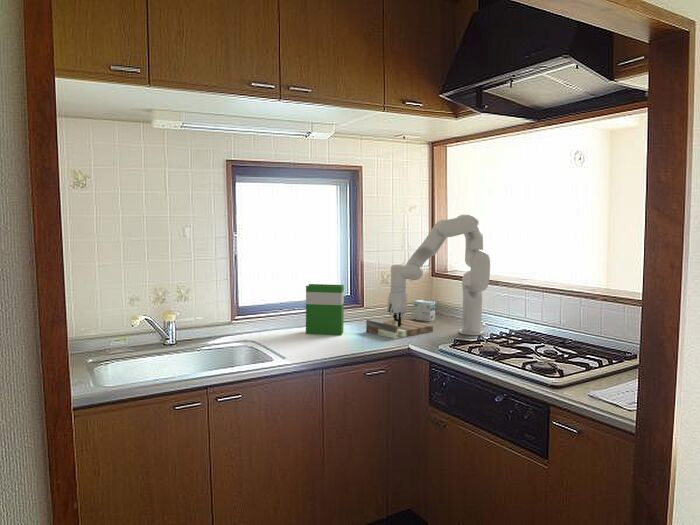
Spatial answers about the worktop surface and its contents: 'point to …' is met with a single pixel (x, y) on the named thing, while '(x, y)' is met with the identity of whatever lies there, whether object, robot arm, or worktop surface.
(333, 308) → the green cereal box
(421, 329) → the board
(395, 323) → the maple block
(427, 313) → the light bulb box
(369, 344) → the worktop surface
